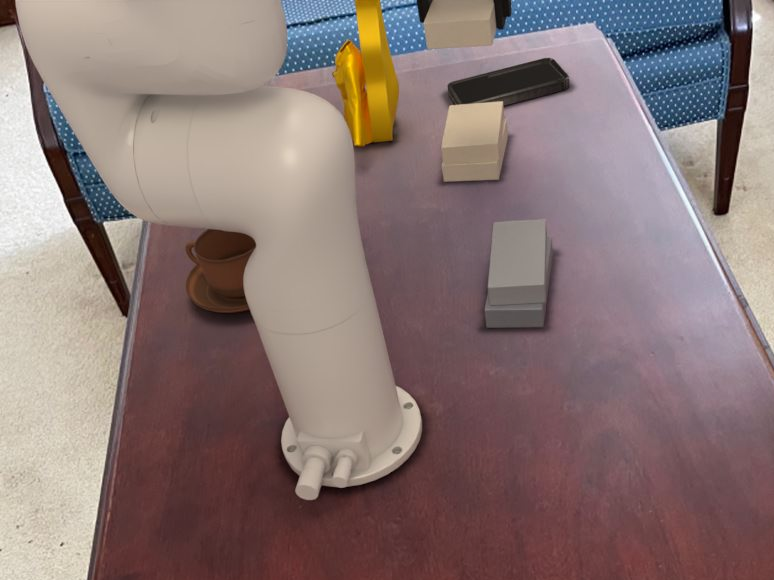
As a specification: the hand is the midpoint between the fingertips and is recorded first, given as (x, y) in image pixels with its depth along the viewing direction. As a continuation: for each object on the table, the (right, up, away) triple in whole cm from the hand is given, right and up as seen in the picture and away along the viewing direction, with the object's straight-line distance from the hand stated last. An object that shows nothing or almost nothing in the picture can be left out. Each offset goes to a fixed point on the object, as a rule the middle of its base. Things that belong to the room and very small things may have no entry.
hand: (466, 24), depth 97 cm
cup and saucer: (-24, -26, +5) cm, 36 cm away
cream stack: (+1, -8, +17) cm, 19 cm away
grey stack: (+6, -28, -1) cm, 28 cm away
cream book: (0, 0, 0) cm, 0 cm away
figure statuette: (-11, -2, +24) cm, 27 cm away
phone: (+6, +5, +28) cm, 29 cm away
